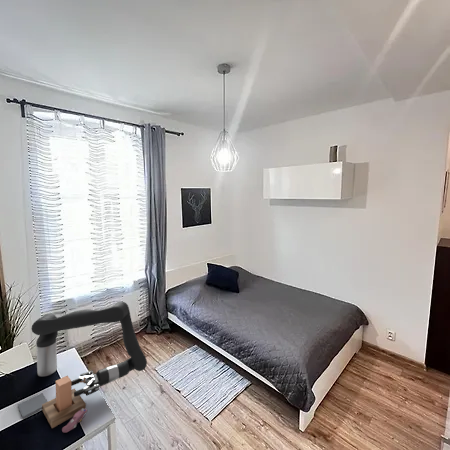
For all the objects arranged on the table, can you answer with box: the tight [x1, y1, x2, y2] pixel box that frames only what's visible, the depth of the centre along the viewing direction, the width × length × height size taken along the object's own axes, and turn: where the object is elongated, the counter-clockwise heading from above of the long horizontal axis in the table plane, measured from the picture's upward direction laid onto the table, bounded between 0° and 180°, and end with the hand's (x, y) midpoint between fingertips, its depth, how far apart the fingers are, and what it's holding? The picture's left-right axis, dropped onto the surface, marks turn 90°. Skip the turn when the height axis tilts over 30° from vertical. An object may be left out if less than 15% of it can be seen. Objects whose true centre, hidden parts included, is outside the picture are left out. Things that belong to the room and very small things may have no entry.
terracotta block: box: [55, 375, 72, 413], centre depth 120 cm, size 5×5×15 cm
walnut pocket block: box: [41, 388, 87, 429], centre depth 120 cm, size 14×14×3 cm
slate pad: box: [17, 392, 49, 419], centre depth 122 cm, size 10×10×1 cm
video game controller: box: [61, 408, 88, 434], centre depth 113 cm, size 10×5×7 cm, turn 169°
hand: (72, 389), depth 122 cm, fingers open, 8 cm apart
